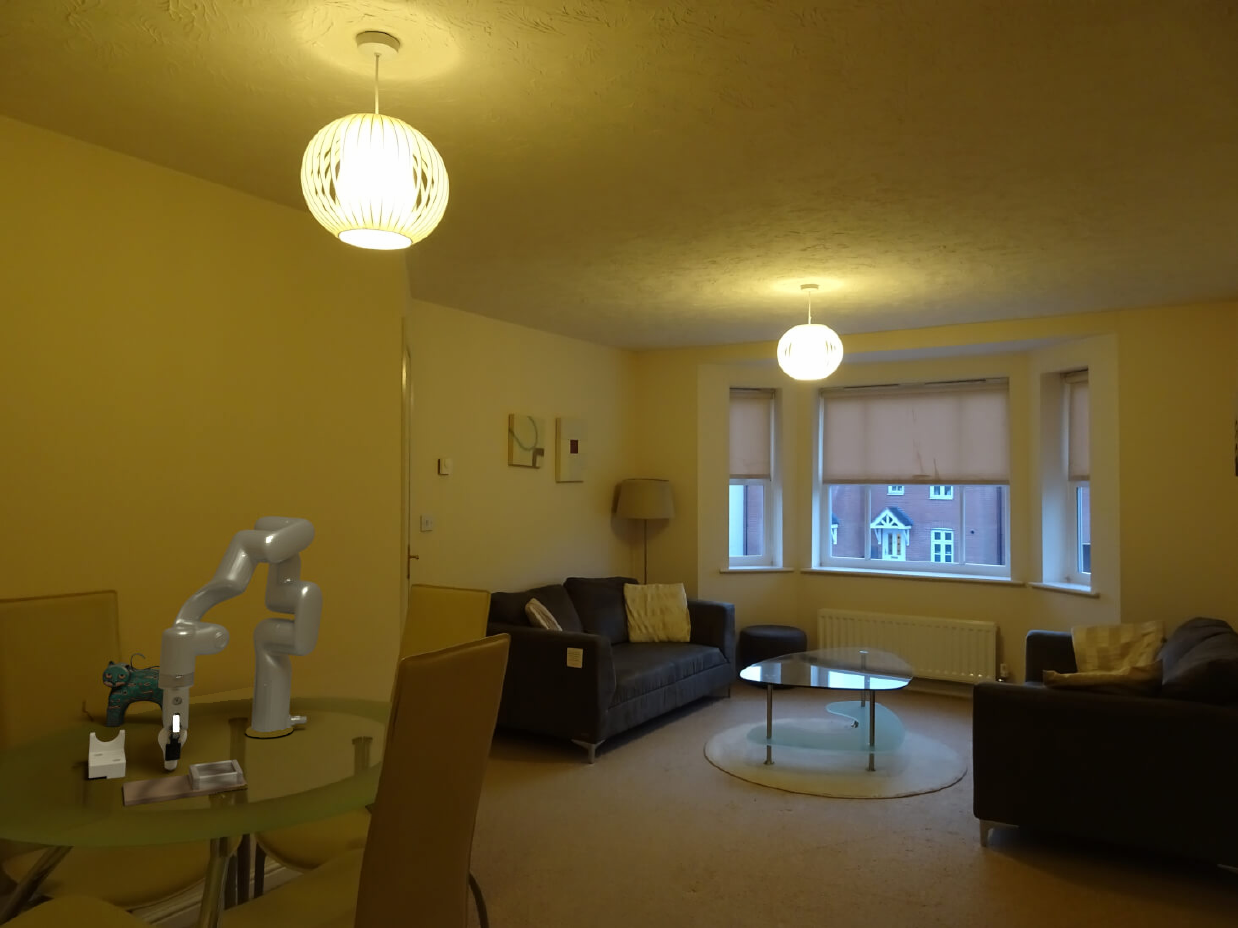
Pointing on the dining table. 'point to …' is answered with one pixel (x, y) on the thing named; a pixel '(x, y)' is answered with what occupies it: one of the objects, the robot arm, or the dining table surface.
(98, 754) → the bracket
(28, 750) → the dining table surface
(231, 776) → the wooden board with tray
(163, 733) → the lightbulb
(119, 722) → the ceramic cat
